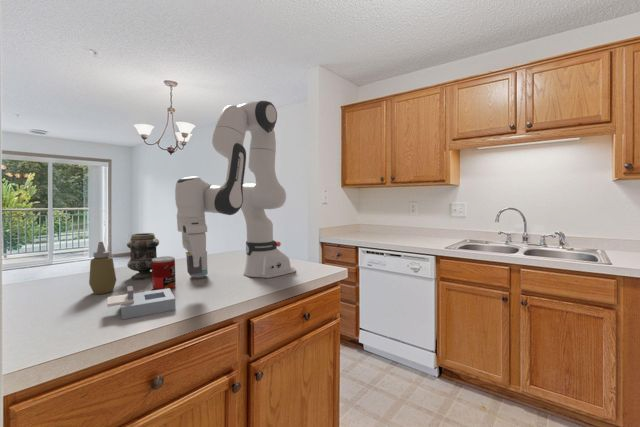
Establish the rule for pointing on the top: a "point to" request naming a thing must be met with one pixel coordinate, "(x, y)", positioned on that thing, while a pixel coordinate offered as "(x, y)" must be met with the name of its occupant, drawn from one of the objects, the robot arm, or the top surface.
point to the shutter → (121, 298)
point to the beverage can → (204, 268)
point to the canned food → (163, 273)
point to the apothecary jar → (142, 254)
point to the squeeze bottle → (102, 271)
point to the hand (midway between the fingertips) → (194, 264)
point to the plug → (190, 267)
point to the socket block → (149, 303)
